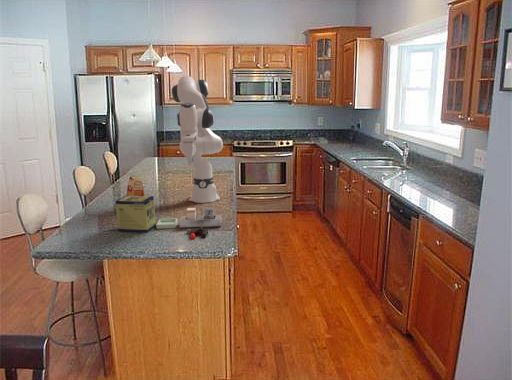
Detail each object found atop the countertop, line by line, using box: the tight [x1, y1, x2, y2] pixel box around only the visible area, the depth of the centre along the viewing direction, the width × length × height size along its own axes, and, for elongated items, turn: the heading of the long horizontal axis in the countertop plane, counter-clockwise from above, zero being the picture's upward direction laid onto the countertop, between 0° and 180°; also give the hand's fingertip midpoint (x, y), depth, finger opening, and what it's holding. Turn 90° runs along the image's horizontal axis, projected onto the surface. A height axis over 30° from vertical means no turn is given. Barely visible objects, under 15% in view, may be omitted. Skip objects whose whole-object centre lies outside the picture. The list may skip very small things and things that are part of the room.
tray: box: [155, 217, 179, 230], centre depth 219 cm, size 10×9×2 cm
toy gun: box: [185, 224, 209, 240], centre depth 202 cm, size 10×12×5 cm
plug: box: [186, 207, 197, 220], centre depth 217 cm, size 4×4×8 cm
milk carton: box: [126, 174, 146, 196], centre depth 251 cm, size 9×9×20 cm
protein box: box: [115, 195, 157, 234], centre depth 213 cm, size 10×16×16 cm
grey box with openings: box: [178, 206, 222, 229], centre depth 214 cm, size 14×20×8 cm
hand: (191, 163), depth 223 cm, fingers open, 8 cm apart
